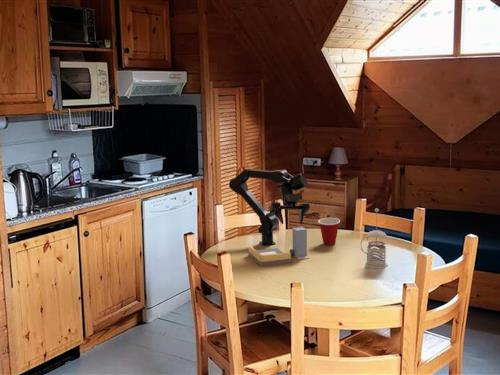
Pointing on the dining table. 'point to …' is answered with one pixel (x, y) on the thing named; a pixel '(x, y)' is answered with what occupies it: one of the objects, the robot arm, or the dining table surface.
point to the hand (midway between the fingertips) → (292, 224)
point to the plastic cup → (329, 230)
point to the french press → (375, 249)
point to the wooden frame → (269, 256)
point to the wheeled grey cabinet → (299, 243)
